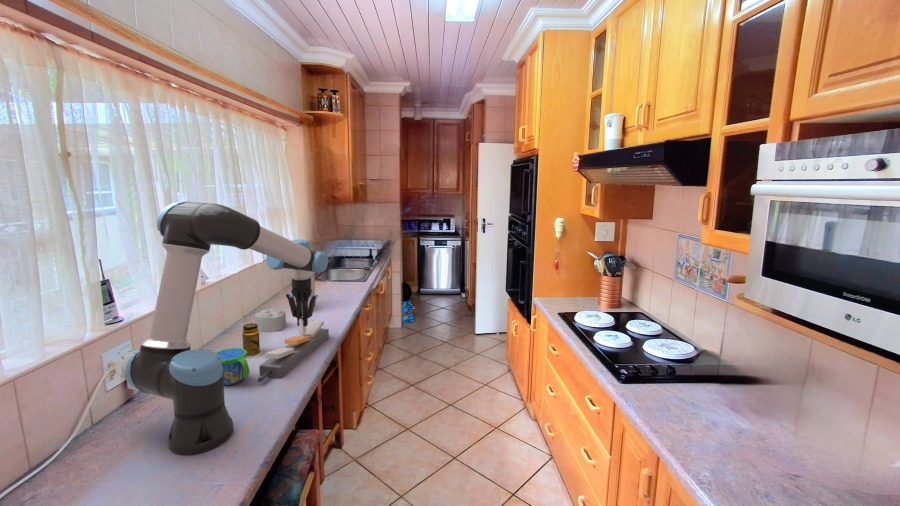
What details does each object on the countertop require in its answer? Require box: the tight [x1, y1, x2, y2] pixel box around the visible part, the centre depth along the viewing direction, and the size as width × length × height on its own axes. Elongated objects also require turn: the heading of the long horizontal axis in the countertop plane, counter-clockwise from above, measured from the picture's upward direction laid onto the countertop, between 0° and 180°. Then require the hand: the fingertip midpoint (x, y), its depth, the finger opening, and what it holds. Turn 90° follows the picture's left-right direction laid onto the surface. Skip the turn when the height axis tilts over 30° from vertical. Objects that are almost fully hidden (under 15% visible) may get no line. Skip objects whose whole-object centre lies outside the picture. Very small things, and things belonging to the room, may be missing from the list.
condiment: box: [241, 322, 263, 358], centre depth 163 cm, size 7×8×12 cm
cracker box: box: [308, 271, 316, 308], centre depth 220 cm, size 14×6×21 cm, turn 3°
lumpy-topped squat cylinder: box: [254, 308, 287, 333], centre depth 192 cm, size 10×13×9 cm
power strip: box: [257, 327, 330, 383], centre depth 162 cm, size 46×8×4 cm, turn 172°
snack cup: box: [215, 347, 251, 386], centre depth 141 cm, size 16×10×10 cm
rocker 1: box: [265, 347, 294, 359], centre depth 151 cm, size 11×5×2 cm, turn 172°
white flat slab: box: [301, 319, 325, 338], centre depth 176 cm, size 11×5×2 cm, turn 172°
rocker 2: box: [284, 334, 310, 345], centre depth 164 cm, size 11×5×2 cm, turn 172°
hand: (302, 333), depth 168 cm, fingers closed
